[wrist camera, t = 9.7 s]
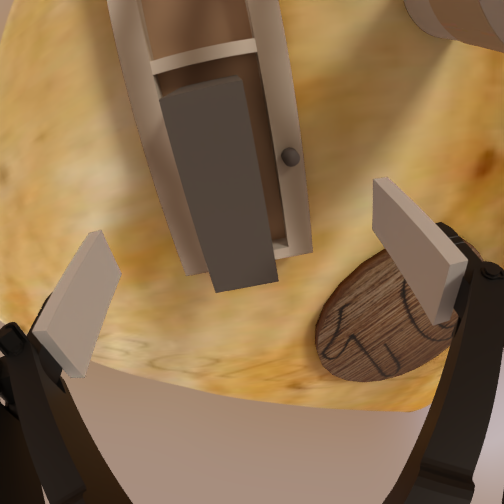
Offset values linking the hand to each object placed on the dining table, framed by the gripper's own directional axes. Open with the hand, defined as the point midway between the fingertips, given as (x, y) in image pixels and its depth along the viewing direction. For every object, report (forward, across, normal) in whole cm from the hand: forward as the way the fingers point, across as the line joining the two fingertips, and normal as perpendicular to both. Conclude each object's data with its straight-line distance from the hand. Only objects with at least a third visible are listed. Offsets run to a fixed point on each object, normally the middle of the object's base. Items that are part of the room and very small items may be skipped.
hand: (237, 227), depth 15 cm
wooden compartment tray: (+12, +1, -8) cm, 14 cm away
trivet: (+13, -17, +24) cm, 32 cm away
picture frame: (+11, +1, 0) cm, 11 cm away
